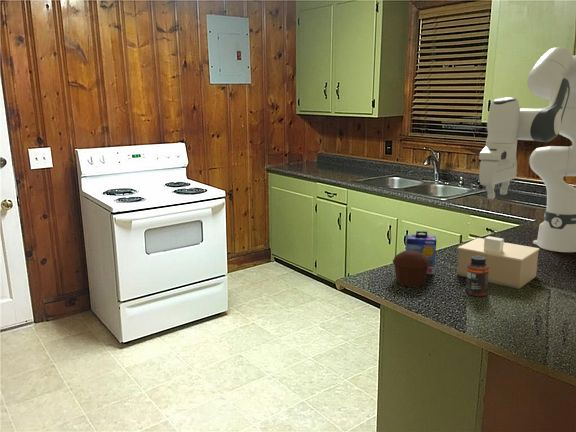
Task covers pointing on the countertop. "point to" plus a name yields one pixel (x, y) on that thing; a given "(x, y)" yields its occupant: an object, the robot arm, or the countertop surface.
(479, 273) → the supplement bottle
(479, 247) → the carton lid
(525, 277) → the carton
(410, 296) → the countertop surface
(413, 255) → the muffin
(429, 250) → the ink cartridge box
